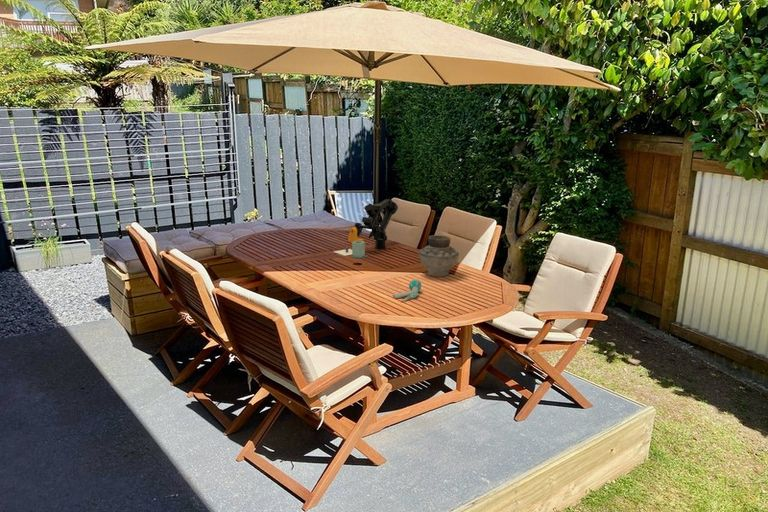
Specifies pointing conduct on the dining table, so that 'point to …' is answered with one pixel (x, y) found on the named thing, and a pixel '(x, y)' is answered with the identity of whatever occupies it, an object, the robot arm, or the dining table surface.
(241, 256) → the dining table surface
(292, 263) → the dining table surface
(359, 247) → the sleeve
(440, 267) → the ceramic pot
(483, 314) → the dining table surface
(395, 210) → the robot arm
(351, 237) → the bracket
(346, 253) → the board
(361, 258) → the stand
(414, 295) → the garden hose nozzle
